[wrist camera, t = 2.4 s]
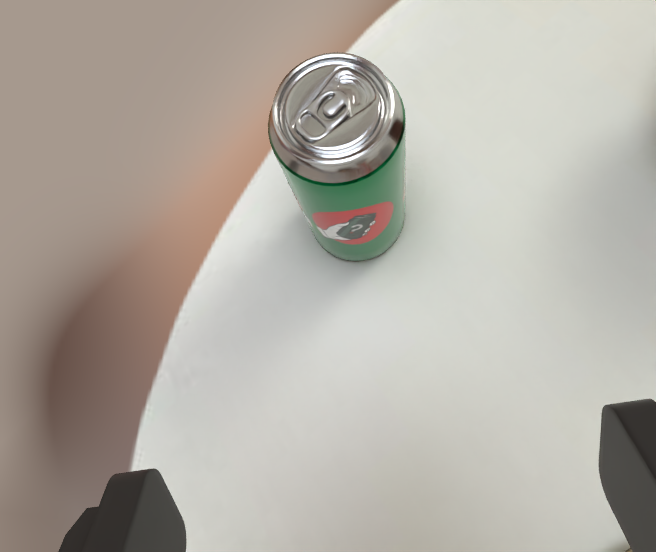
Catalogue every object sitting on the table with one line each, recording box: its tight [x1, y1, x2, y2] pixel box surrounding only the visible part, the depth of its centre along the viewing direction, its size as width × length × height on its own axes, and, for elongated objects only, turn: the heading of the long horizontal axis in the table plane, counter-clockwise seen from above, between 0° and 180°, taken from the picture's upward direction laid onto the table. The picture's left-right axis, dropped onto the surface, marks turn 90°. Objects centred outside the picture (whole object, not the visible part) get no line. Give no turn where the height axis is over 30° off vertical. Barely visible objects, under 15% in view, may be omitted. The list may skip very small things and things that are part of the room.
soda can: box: [268, 53, 405, 261], centre depth 26 cm, size 5×5×12 cm
